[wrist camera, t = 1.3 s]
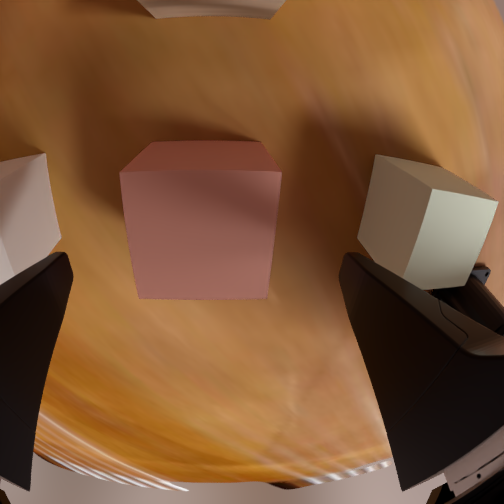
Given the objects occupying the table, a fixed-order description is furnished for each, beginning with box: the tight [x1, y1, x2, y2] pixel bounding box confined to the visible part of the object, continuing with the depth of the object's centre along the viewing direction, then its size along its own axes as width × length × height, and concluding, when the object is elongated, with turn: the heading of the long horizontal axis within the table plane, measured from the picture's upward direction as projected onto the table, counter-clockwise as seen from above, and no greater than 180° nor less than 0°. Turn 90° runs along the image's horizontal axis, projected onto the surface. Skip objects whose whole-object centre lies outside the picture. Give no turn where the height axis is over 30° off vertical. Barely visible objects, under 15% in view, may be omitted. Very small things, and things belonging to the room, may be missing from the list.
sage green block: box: [357, 154, 498, 290], centre depth 13 cm, size 5×5×5 cm
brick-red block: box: [119, 140, 282, 300], centre depth 12 cm, size 5×5×5 cm
